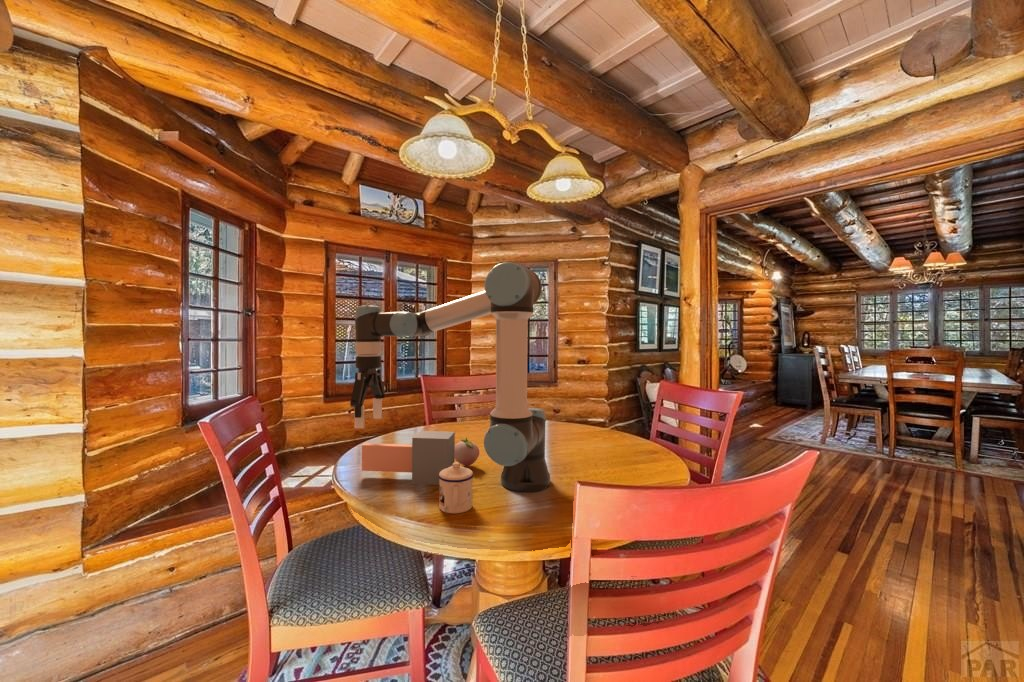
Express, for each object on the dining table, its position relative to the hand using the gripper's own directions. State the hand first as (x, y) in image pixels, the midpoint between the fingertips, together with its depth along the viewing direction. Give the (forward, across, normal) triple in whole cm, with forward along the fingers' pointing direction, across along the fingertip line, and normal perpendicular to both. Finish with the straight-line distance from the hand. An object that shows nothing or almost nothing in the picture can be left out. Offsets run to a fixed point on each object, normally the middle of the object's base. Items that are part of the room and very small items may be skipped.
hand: (368, 423), depth 130 cm
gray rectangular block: (+17, 0, +21) cm, 27 cm away
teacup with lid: (+18, +20, +32) cm, 42 cm away
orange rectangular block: (+15, 0, +6) cm, 16 cm away
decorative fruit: (+18, -13, +28) cm, 36 cm away
